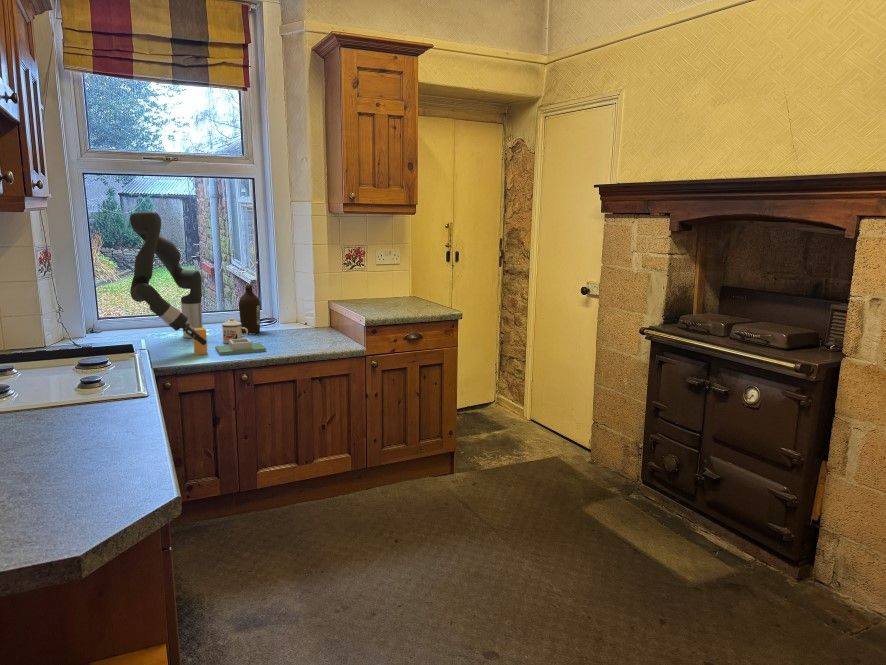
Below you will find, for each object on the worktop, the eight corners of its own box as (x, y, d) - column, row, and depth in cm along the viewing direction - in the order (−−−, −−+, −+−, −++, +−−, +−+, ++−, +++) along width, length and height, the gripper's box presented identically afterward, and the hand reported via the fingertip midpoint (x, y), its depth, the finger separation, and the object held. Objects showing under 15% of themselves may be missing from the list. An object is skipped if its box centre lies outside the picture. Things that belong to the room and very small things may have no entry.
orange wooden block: (194, 352, 272) (192, 328, 270) (205, 351, 275) (204, 327, 272) (195, 354, 268) (193, 330, 266) (207, 353, 270) (206, 329, 268)
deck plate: (215, 349, 279) (215, 339, 278) (259, 345, 288) (259, 336, 287) (219, 355, 268) (219, 345, 267) (265, 351, 277) (265, 341, 276)
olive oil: (238, 334, 311) (236, 286, 305) (241, 330, 321) (238, 283, 316) (260, 334, 313) (258, 286, 308) (261, 330, 323) (260, 283, 318)
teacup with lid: (220, 343, 290) (218, 319, 287) (226, 339, 299) (225, 316, 296) (245, 344, 290) (244, 320, 288) (250, 340, 299) (249, 317, 297)
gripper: (181, 314, 258) (212, 339, 266) (178, 308, 270) (208, 333, 278) (168, 327, 256) (200, 352, 264) (166, 321, 269) (196, 345, 277)
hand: (204, 342), depth 271 cm, fingers closed on orange wooden block, 5 cm apart
